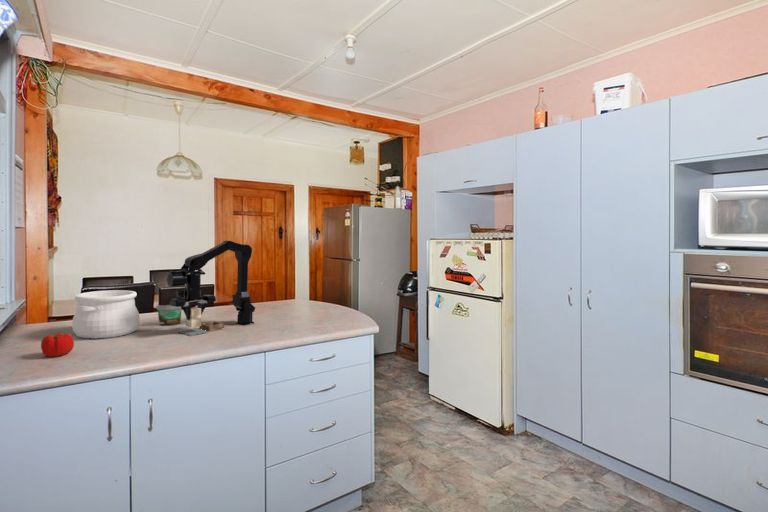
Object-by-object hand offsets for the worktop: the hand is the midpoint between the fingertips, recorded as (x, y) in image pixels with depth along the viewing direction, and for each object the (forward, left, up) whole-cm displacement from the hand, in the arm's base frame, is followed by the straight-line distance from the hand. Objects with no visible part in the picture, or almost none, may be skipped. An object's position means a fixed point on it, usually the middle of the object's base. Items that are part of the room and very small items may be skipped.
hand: (193, 319), depth 181 cm
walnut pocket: (-9, 0, -6) cm, 11 cm away
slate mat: (0, 0, -6) cm, 6 cm away
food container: (-2, -22, -6) cm, 23 cm away
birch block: (0, 0, -3) cm, 3 cm away
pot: (+24, -27, -6) cm, 37 cm away
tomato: (+48, -6, -6) cm, 49 cm away
